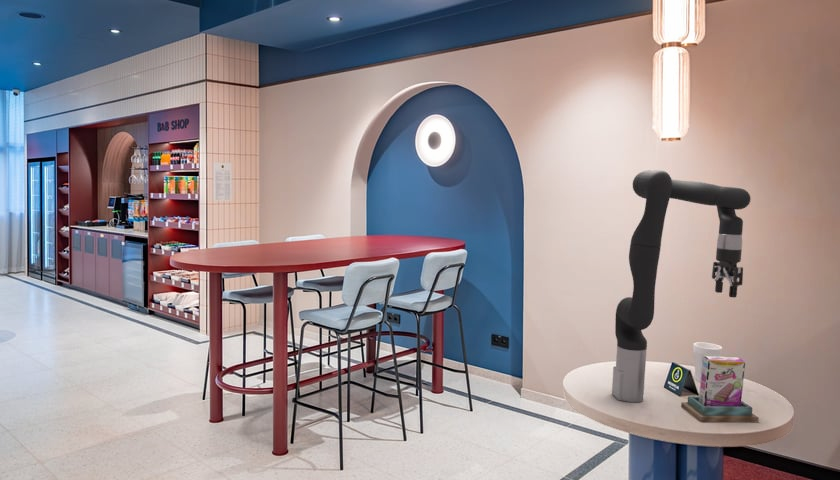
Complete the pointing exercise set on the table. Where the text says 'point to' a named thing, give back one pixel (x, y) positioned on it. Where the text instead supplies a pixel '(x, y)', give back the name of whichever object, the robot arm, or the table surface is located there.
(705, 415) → the display base
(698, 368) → the foam cup
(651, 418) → the table surface
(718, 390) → the candy bar box
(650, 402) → the table surface
